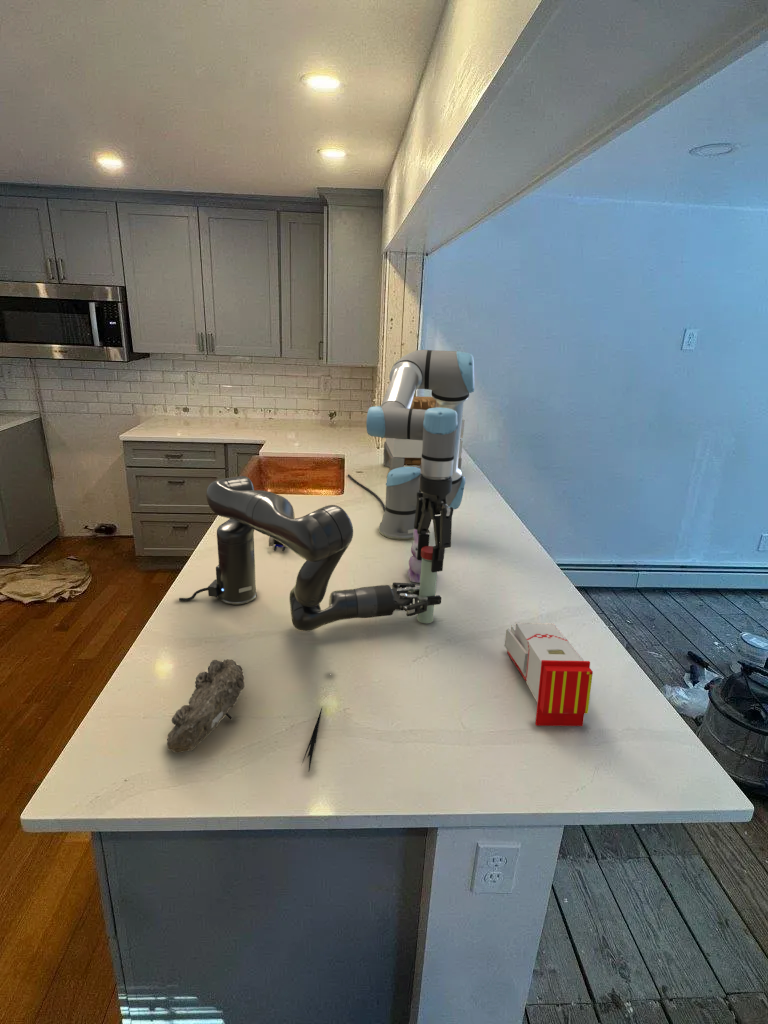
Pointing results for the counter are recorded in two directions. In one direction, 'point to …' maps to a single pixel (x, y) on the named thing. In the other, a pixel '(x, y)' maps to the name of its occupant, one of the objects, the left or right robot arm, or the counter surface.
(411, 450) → the grey slatted crate
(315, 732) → the feather
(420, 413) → the right robot arm
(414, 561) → the figurine
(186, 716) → the fossil
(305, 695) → the counter surface
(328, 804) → the counter surface
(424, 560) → the bottle
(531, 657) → the toy
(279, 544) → the figurine character
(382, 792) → the counter surface
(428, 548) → the lid
